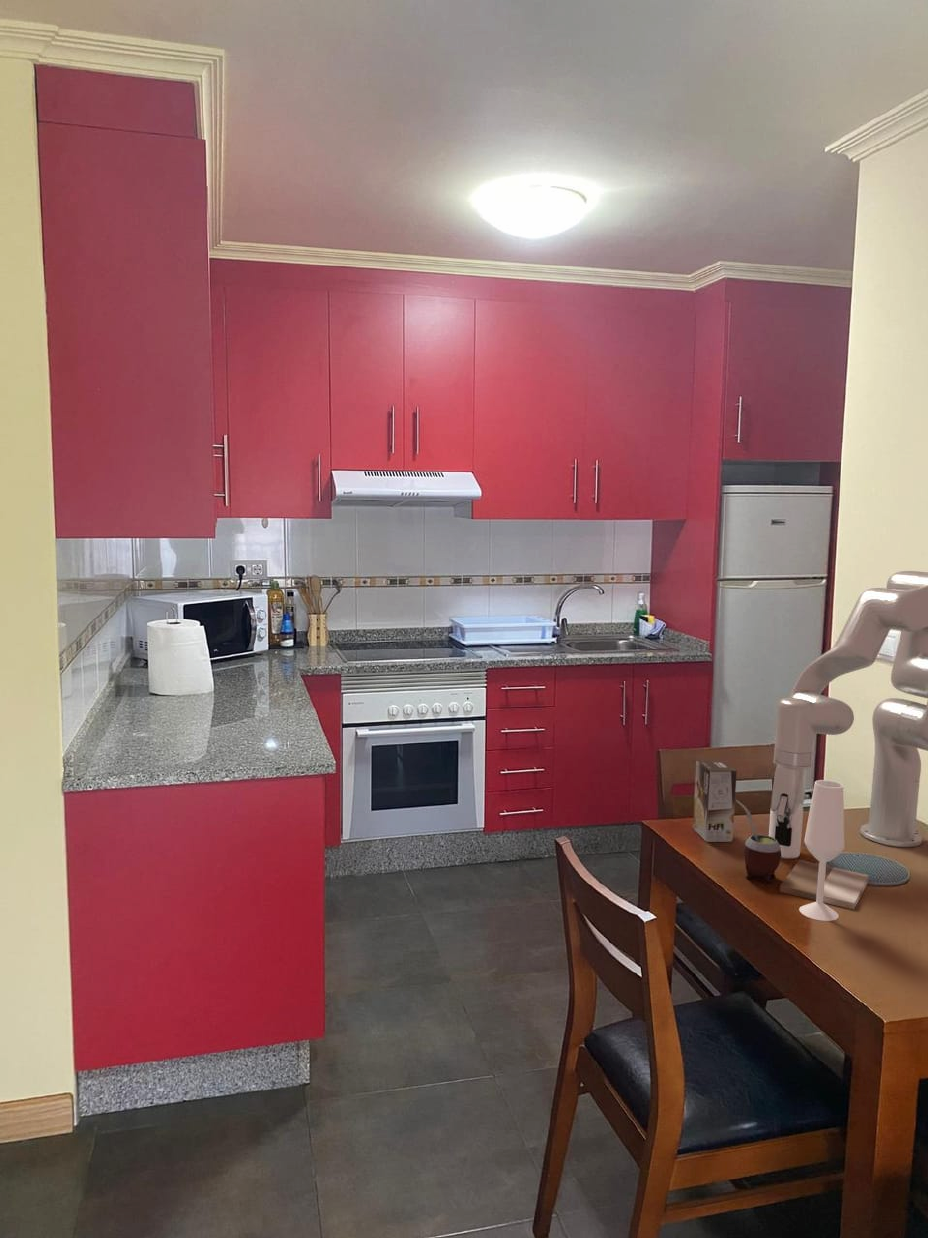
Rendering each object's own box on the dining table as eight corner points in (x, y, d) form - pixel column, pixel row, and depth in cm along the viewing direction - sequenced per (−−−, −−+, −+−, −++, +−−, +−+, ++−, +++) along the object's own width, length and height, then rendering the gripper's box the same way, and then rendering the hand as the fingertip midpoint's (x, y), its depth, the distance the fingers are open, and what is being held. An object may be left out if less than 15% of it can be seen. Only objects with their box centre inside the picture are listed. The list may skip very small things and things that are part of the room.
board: (799, 865, 186) (799, 859, 186) (868, 881, 179) (869, 875, 179) (779, 891, 172) (780, 885, 172) (853, 909, 165) (854, 903, 165)
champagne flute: (845, 914, 163) (856, 785, 160) (826, 924, 159) (837, 792, 156) (811, 901, 168) (821, 776, 165) (791, 910, 164) (801, 782, 161)
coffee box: (733, 842, 198) (738, 771, 196) (705, 842, 197) (709, 771, 195) (717, 827, 207) (722, 759, 205) (690, 828, 206) (695, 759, 204)
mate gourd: (786, 884, 176) (791, 809, 174) (749, 886, 174) (754, 811, 173) (765, 869, 183) (770, 797, 181) (730, 871, 182) (735, 799, 180)
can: (794, 862, 187) (798, 806, 186) (763, 854, 191) (767, 799, 190) (803, 853, 192) (807, 798, 191) (773, 846, 196) (777, 792, 195)
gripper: (784, 746, 199) (778, 825, 201) (763, 763, 184) (757, 848, 186) (820, 752, 195) (813, 832, 197) (802, 769, 180) (795, 856, 182)
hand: (786, 839), depth 191 cm, fingers closed on can, 6 cm apart
